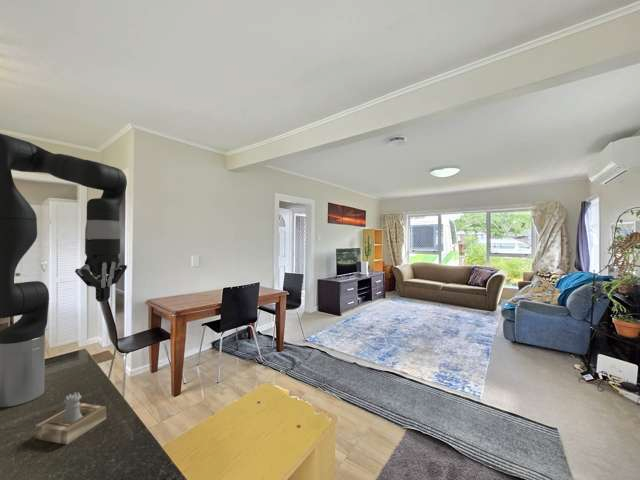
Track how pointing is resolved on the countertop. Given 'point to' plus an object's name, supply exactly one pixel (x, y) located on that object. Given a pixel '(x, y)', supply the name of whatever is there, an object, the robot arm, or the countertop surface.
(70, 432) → the socket block
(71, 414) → the rook chess piece
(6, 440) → the countertop surface
